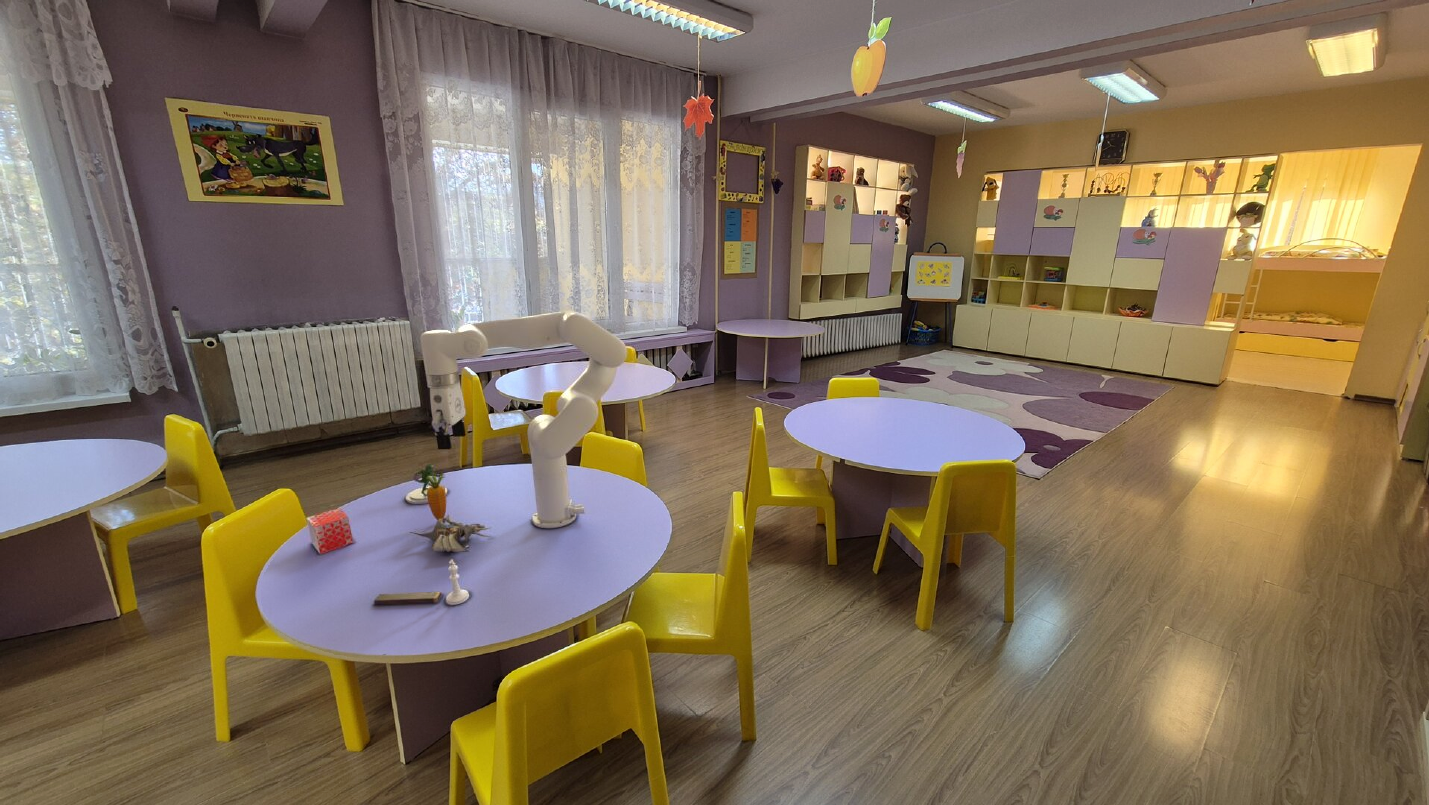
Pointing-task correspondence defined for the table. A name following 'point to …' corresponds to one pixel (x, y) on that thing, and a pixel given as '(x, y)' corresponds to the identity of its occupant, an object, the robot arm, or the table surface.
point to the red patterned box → (330, 530)
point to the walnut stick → (408, 598)
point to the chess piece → (455, 587)
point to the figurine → (451, 535)
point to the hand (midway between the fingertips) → (452, 442)
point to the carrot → (436, 497)
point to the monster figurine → (421, 494)
